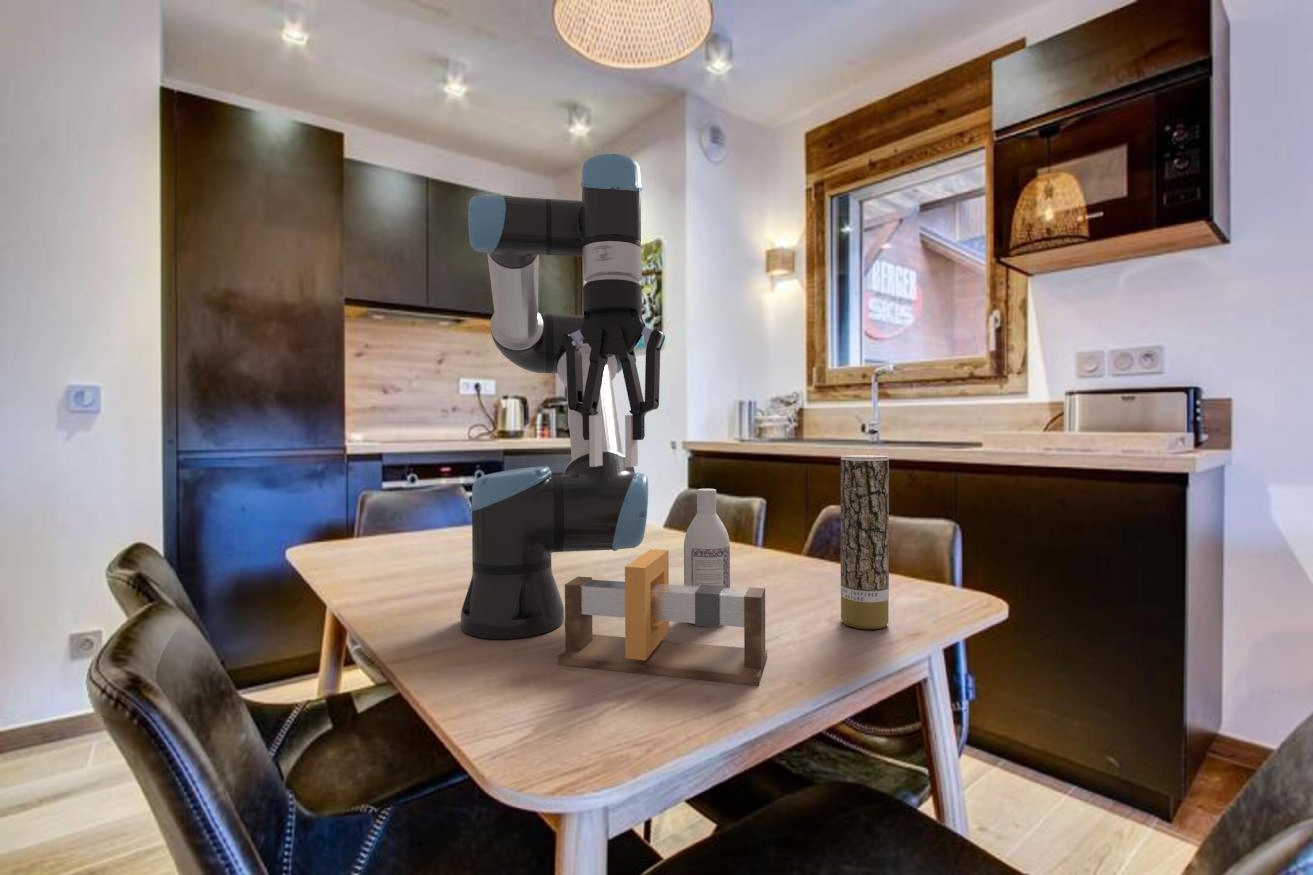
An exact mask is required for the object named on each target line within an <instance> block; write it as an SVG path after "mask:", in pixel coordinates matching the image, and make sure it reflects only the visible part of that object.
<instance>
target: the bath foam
mask: <svg viewBox="0 0 1313 875" xmlns="http://www.w3.org/2000/svg"><path fill="white" fill-rule="evenodd" d="M683 580H684V581H683V585H684V586H699V587H700V586H701V585H715V586H725V588H731V546H730V536H729V534H728V530H727V528H726V527H725V524H724V522H723V521H722V519H721V518H720V517H719V515H718V513H717V489H715V488H698V489H696V514H695V515H694V516H693V519H692V520H691V523H690V524H689V526H688V527H687V530H686V532H685V536H684V541H683ZM690 624H692V625H694V626H695V623H690Z"/></svg>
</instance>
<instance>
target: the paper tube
mask: <svg viewBox="0 0 1313 875" xmlns="http://www.w3.org/2000/svg"><path fill="white" fill-rule="evenodd" d="M889 466H890V460H889V455H878V454H877V455H873V454H871V455H870V454H858V455H857V454H856V455H855V454H851V455H850V454H847V455H841V457H840V620H841V621H842V623H843V624H844V625H846V626H849V627H851V628H854V629H860V630H869V631H870V630H881V629H883V628H885V627H886V626H887V625H888V624H889V616H890V615H889V612H890V611H889V604H890V603H889V602H890V601H889V599H890V593H889V592H890V591H889V590H890V582H889V581H890V578H889V577H890V574H889V573H890V571H889V570H890V569H889V568H890V562H889V561H890V560H889V558H890V551H889V550H890V548H889V547H890V538H889V537H890V520H889V519H890V467H889Z"/></svg>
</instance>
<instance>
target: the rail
mask: <svg viewBox="0 0 1313 875" xmlns="http://www.w3.org/2000/svg"><path fill="white" fill-rule="evenodd" d="M650 584H651V620H660V621H669V622H671V623H672V622H675V623H686V624H691V623H695V625H694V626H697V627H698V626H699V627H711V628H720V627H722V626H725V627H737V628H739V627H740V628H744V596H745V594H746V592H747V590H748V589H744V588H731V587H730V588H725V586H715V585H701V586H700V587H699V586H684V584H683V585H682V584H681V585H680V584H669V585H668V584H652V583H650ZM580 590H581V614H585V615H592V616H598V617H610V618H611V617H612V618H613V617H614V618H622V619H623V618H624V619H625V581H619V580H602V579H592V580H589V581H588V582H586V583H585V584H583V585H582V586H580Z"/></svg>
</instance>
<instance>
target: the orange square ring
mask: <svg viewBox="0 0 1313 875" xmlns="http://www.w3.org/2000/svg"><path fill="white" fill-rule="evenodd" d="M669 552H670V551H669V549H653V548H650V549H649V550H647V551H646V552H645V553H643V554H642V555H640V556H639V557H637V558H635V559H634V560H632V561H631V562H630V563H628V564H626V566H624V582H625V618H624V626H625V627H624V629H625V632H624V633H625V635H624V636H625V657H626V658H627V659H637V660H646V659H647V658H648V657H649V655H650V654H651V653H652V652H653V650H654V649H655V648H656V647H657V645H658V644H659V643H660V642H661V641H663V639H664V638H665V637H666V635H668V633H669V632H670V621H660V620H651V584H650V583H652V584H668V585H670V582H669V581H670V580H669V579H670V577H669V575H670V573H669V572H670V571H669V570H670V568H669V565H670V564H669V559H670V558H669V556H670V555H669Z"/></svg>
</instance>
